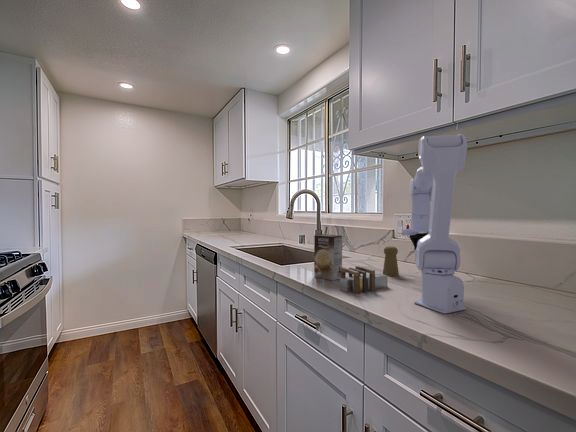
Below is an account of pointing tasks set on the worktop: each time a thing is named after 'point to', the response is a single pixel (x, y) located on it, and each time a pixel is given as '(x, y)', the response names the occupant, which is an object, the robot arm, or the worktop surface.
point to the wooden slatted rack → (357, 273)
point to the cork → (390, 261)
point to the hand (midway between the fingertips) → (420, 256)
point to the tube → (348, 282)
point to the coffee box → (327, 256)
